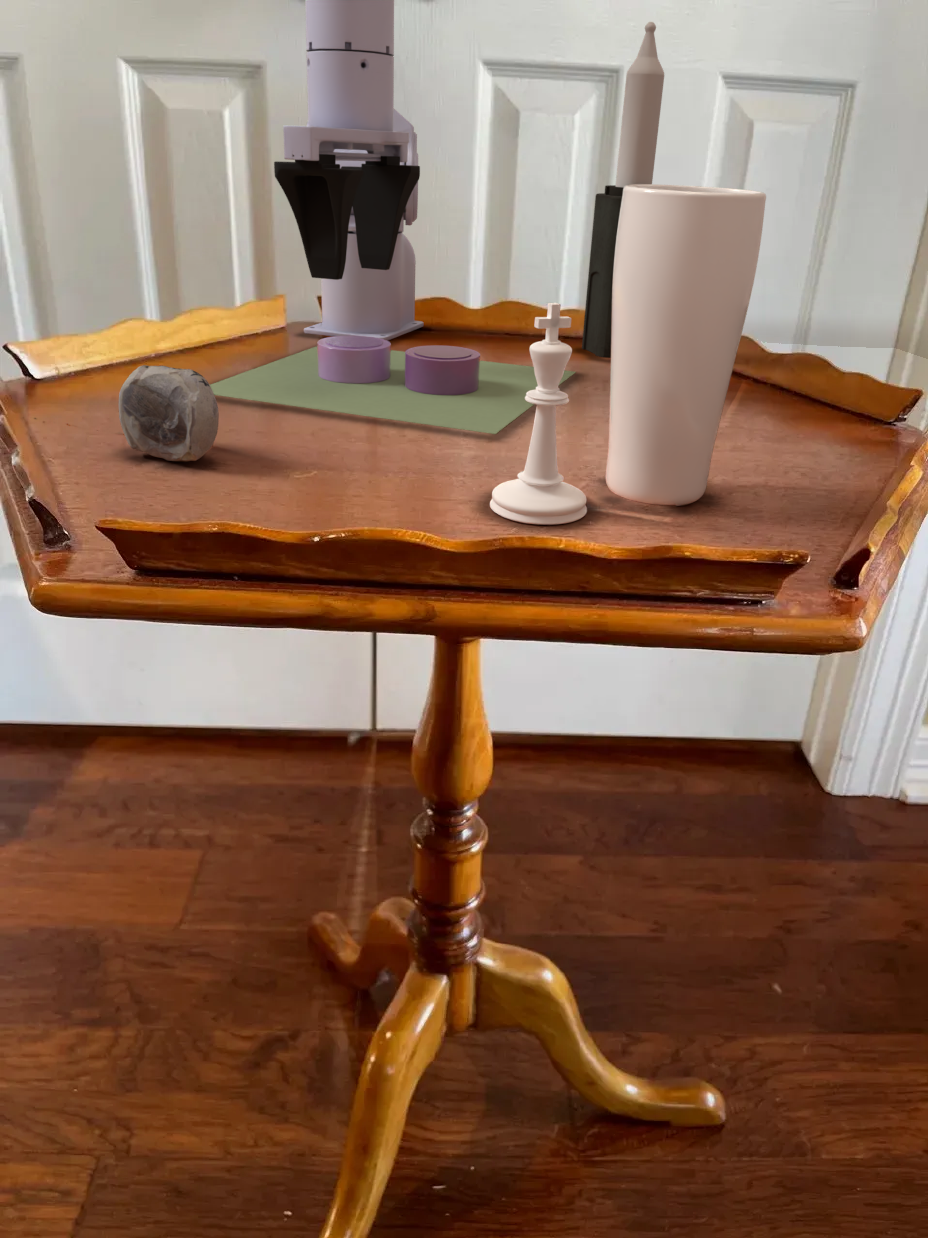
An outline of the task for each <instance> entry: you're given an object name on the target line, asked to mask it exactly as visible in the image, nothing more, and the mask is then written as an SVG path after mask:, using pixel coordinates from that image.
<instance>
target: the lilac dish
mask: <svg viewBox="0 0 928 1238" xmlns="http://www.w3.org/2000/svg"><path fill="white" fill-rule="evenodd" d="M316 346H317V354H318V376H319V377H320V378H322V379H325V380H328V381H333V382H339V383H353V384H361V383H374V382H380V381H384V380H387V379H389V378H390V376H391V350H392V343H391V342H390V340H388V341H387V340H384V339H380V338H375V337H367V336H327V337H324V338H321V339H318V340H317V343H316Z"/></svg>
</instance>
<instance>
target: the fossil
mask: <svg viewBox="0 0 928 1238" xmlns="http://www.w3.org/2000/svg"><path fill="white" fill-rule="evenodd" d="M219 417H220V411H219V405H218V402H217V399H216V395H214V393H213V391H212V389H211V387H210V383H209V381H208V380H207V379H206V378H205V377H204V376H203V375H202V374H200V373H199V372H197V371H195V370H193V369H190V368H179V367H178V368H177V367H171V366H167V365H145V364H143V365H140V366H138V367H137V368H135V369H134V370H133V371H131V373H130V374H129V376H128V377H127V378H126V380H125V381H124V382H123V384H122V385H121V387H120V389H119V393H118V418H119V423H120V427H121V429H122V432H123V434H124V437H125V439H126V442H127V445H128V446H129V447H130V448H131V449H132V450H135V451H139V452H143V453H145V454H148V455H149V456H152V457H154V458H160V459H163V460H165V461H171V462H190V461H193V462H195V461H197V460H199V459H201V458H202V457H203V456H204V455H206V453H207V452H208V451H209V450H210V449H211V448H212V446H213V445H214V443H215V441H216V437H217V435H218V432H219V431H218V430H219V421H220V420H219V419H220V418H219Z"/></svg>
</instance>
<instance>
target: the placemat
mask: <svg viewBox="0 0 928 1238" xmlns="http://www.w3.org/2000/svg"><path fill="white" fill-rule="evenodd" d="M576 373H577V371H575V370H566V369H565V370H564V373H563V377H562V379H561V381H560V383H559V385H558V387H559V386H561V385H562V384H563V383H564V382H566V381H567V380H569V378H571V377H572V376H574V375H576ZM209 385H210V387H211V389H212V391H213V393H214V396H218V397H224V398H231V399H239V400H247V401H253V402H260V403H266V404H267V403H268V404H275V405H282V406H289V407H297V408H302V409H303V408H304V409H310V410H311V409H312V410H317V411H325V412H331V413H340V414H346V415H354V416H360V417H361V416H362V417H368V418H375V419H380V420H381V419H382V420H390V421H396V422H397V421H398V422H403V423H410V424H418V425H425V426H431V427H440V428H447V429H452V430H453V429H454V430H462V431H469V432H475V433H482V434H490V435H497V434H498V433H499V432H501V431H502V430H504V429H505V428H506V427H507V426H509V425H510V424H511V423H512V422H514V421H515V420H516V419H517V418H519V417H520V416H522V415H523V414H525V413H526V412H527V411H528V410H530V409H531V408H532V407H533V406H535V404H532V403H529V402H527V401H526V400H525V396H526V393H527V392H528V391H530V390H535V389H536V387H537V386H538V384H537V380H536V377H535V372H534V366H530V365H523V364H522V365H521V364H512V363H505V362H496V361H487V360H480V372H479V388H478V390H477V391H475V392H472V393H468V394H461V395H432V394H424V393H419V392H415V391H412V390H409V389H408V388H406V387H405V351H403V350H394V349H391V376H390V378H389V379H387V380H384V381H380V382H374V383H361V384H353V383H339V382H333V381H328V380H325V379H322V378H320V377H319V376H318V354H317V345H316V346H313V347H311V348H308V349H305V350H303V351H300V352H297V353H294V354H291V355H289V356H286V357H283V358H280V359H277V360H274V361H271V362H269V363H266V364H263V365H260V366H258V367H255V368H252V369H249V370H246V371H243V372H241V373H238V374H236V375H233V376H230V377H227V378H225V379H222V380H219V381H216V382H214V383H209Z"/></svg>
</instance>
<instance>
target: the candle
mask: <svg viewBox="0 0 928 1238" xmlns="http://www.w3.org/2000/svg"><path fill="white" fill-rule="evenodd" d="M656 29H657V25H656V24H655V22H654V21H648V22H647V23H646V24H645V26H644V31H645V34H644V36H643V39H642V42H641V44H640V47H639V50H638V53H637V56H636V58H635V59H634V61H633V62H632V64H631V65H630V66H629V68H628V70H627V71H626V76H625V86H624V95H623V105H622V116H621V126H620V136H619V145H618V146H619V147H618V155H617V156H618V157H617V165H616V174H615V175H616V177H615V185H613V184H612V185H611V184H609V185H604V193H599V192H598V193H596V194H595V199H594V212H593V222H592V232H591V240H590V241H591V244H590V253H589V265H588V277H587V286H586V297H585V308H584V318H583V319H584V320H583V330H582V341H581V342H582V343H581V349H582V350H585V351H588V352H590V353H592V354H594V355H595V356H596V357H599V358H604V359H605V358H606V359H611V324H612V286H613V269H614V256H615V246H616V237H617V229H618V222H619V215H620V208H621V202H622V195H623V188H624V187H625V186H626V185H633V184H653V181H654V180H653V179H654V170H655V162H656V153H657V145H658V137H659V136H658V135H659V126H660V118H661V109H662V101H663V91H664V82H665V71H664V68H663V67H662V64H661V62H660V60H659V56H658V50H657V43H656V37H655V32H656Z"/></svg>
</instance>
